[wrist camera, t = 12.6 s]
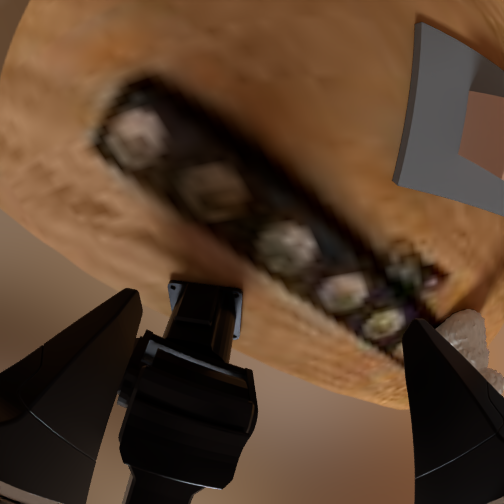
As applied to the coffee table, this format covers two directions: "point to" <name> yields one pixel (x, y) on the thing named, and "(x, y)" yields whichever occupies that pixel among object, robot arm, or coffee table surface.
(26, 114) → the coffee table surface
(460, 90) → the charcoal mat
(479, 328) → the white creature statuette
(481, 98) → the terracotta cube
